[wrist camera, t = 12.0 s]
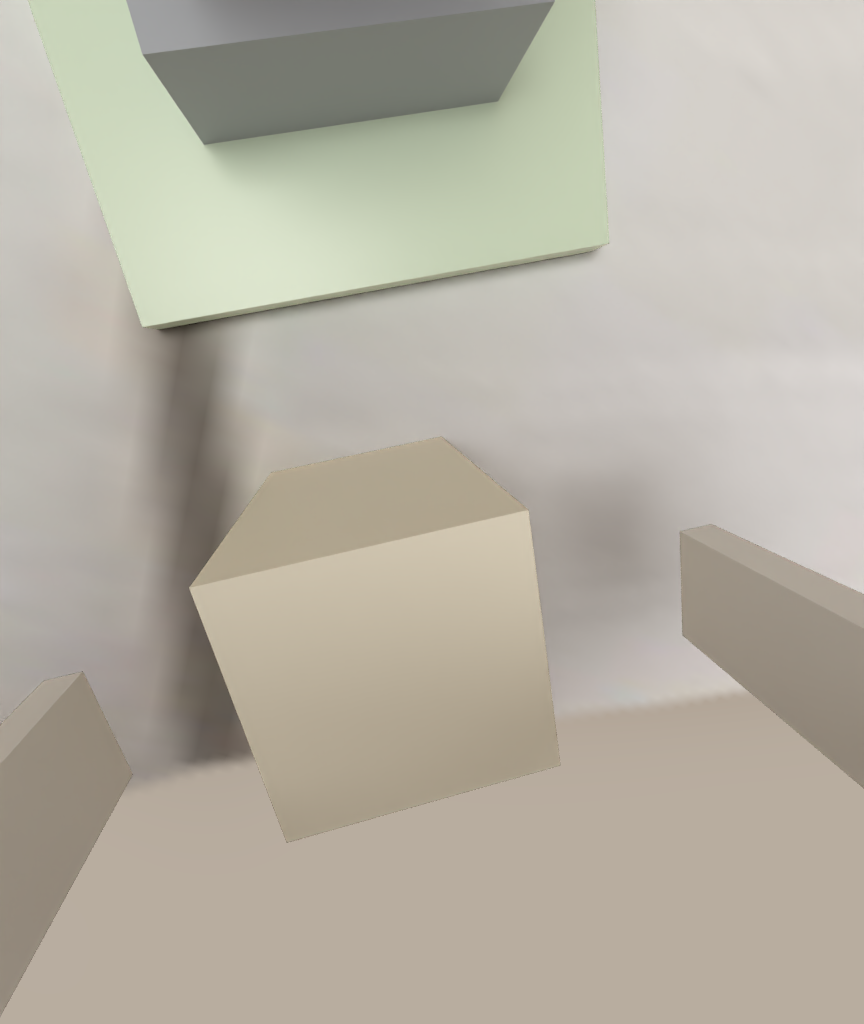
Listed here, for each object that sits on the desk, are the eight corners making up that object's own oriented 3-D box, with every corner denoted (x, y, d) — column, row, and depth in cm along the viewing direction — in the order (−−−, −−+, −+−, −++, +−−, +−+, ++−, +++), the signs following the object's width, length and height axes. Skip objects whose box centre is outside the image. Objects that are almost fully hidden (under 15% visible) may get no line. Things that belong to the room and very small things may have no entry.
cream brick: (315, 623, 19) (286, 842, 10) (271, 472, 17) (189, 587, 8) (467, 586, 19) (560, 765, 11) (441, 436, 17) (528, 509, 9)
